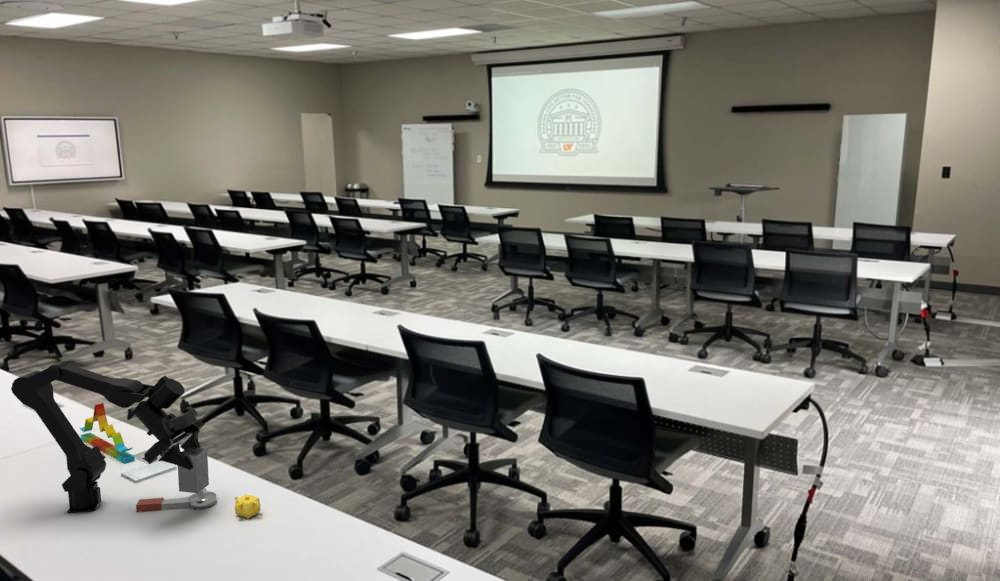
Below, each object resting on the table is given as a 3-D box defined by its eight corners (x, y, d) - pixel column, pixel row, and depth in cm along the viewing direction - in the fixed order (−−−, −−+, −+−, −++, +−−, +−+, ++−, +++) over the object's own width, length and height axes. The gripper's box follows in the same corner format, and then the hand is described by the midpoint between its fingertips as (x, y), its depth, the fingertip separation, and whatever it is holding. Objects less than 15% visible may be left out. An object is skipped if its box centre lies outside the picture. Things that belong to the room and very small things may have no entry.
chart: (135, 461, 223) (131, 414, 220) (124, 464, 220) (121, 417, 218) (91, 437, 241) (87, 394, 238) (81, 440, 239) (77, 396, 236)
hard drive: (161, 459, 221) (120, 472, 211) (176, 465, 217) (135, 479, 207) (161, 464, 222) (120, 477, 212) (176, 471, 217) (135, 485, 207)
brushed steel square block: (179, 491, 187) (177, 454, 186) (190, 482, 192) (188, 447, 191) (197, 493, 187) (195, 456, 185) (208, 484, 192) (207, 448, 190)
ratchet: (134, 515, 188) (133, 500, 188) (141, 503, 195) (140, 488, 194) (214, 508, 192) (213, 494, 192) (218, 497, 199) (217, 482, 198)
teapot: (225, 516, 188) (224, 498, 187) (242, 507, 193) (241, 489, 192) (248, 524, 185) (247, 504, 184) (265, 514, 190) (264, 495, 189)
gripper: (152, 412, 177) (196, 459, 177) (196, 389, 195) (236, 432, 195) (125, 440, 180) (168, 486, 180) (171, 415, 198) (210, 457, 198)
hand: (197, 464), depth 188 cm, fingers closed on brushed steel square block, 5 cm apart
